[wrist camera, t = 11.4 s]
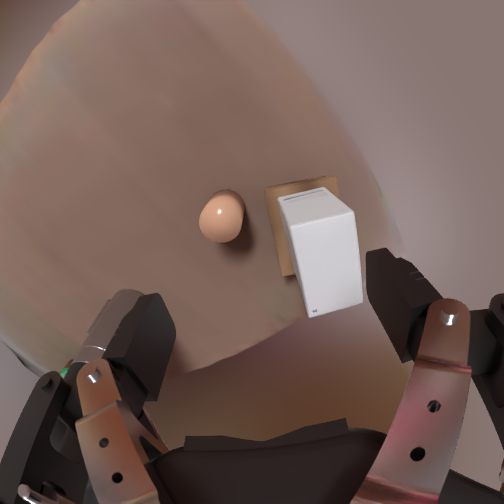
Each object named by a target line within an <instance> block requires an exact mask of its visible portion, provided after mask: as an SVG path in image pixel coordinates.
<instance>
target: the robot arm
mask: <svg viewBox="0 0 504 504" xmlns="http://www.w3.org/2000/svg"><path fill="white" fill-rule="evenodd" d="M366 289H367V295H368V299H369V301H370V303H371V305H372V307H373V309H374V311H375V312H376V314H377V316H378V318H379V320H380V321H381V323H382V325H383V327H384V329H385V331H386V333H387V334H388V336H389V338H390V340H391V342H392V344H393V346H394V348H395V350H396V352H397V354H398V356H399V358H400V360H401V362H402V363H404V362H407V361H410V360H413V361H414V366H413V369H412V372H411V375H410V378H409V381H408V385H407V387H406V390H405V393H404V395H403V398H402V401H401V404H400V406H399V409H398V411H397V414H396V416H395V419H394V421H393V423H392V426H391V428H390V430H389V432H388V435H387V434H385V433H382V432H378V431H375V430H371V429H365V428H348V426H347V422H346V418H343V419H339V420H335V421H330V422H326V423H321V424H316V425H311V426H306V427H303V428H300V429H298V430H295V431H292V432H290V433H287V434H284V435H282V436H279V437H276V438H273V439H270V440H267V441H261V442H260V441H252V440H245V439H239V438H232V437H227V436H186V437H185V443H184V447H180V448H177V449H173V450H171V451H170V450H169V449H168V448H167V446H166V445H165V443H164V442H163V440H162V438H161V436H160V435H159V433H158V431H157V429H156V428H155V426H154V424H153V422H152V420H151V418H150V416H149V415H148V412H147V411H146V410H145V408H144V407H143V405H144V402H145V401H157V399H158V395H159V392H160V388H161V385H162V381H163V378H164V374H165V371H166V368H167V364H168V361H169V358H170V354H171V351H172V348H173V344H174V341H175V338H176V329H175V325H174V322H173V320H172V318H171V316H170V314H169V312H168V310H167V308H166V305H165V303H164V301H163V299H162V297H161V295H160V294H158V293H154V294H148V295H143V294H141V293H139V292H137V291H133V290H122V291H120V292H118V293H116V294H115V295H114V297H113V298H112V300H108V301H107V303H106V304H105V306H104V307H103V309H102V310H101V312H100V313H99V315H98V316H97V318H96V319H95V321H94V322H93V324H92V325H91V327H90V329H89V330H88V332H87V338H86V340H85V341H84V343H83V345H82V346H81V348H80V350H79V352H78V353H77V355H76V357H75V358H74V360H73V362H72V364H71V365H70V367H69V369H68V371H67V373H66V374H65V376H64V378H62V376H61V375H60V374H59V373H58V372H56V371H51V372H48V373H46V374H45V375H43V376H42V377H41V378H40V379H39V380H38V382H37V383H36V385H35V388H34V389H33V391H32V393H31V395H30V397H29V399H28V401H27V403H26V405H25V407H24V409H23V411H22V413H21V415H20V417H19V419H18V422H17V424H16V426H15V428H14V431H13V433H12V435H11V438H10V440H9V442H8V445H7V447H6V450H5V452H4V455H3V458H2V460H1V463H0V504H504V459H503V462H502V466H501V472H500V473H499V480H500V482H502V484H501V489H500V491H497V490H495V489H492V488H490V487H488V486H485V485H483V484H481V483H478V482H476V481H474V480H472V479H470V478H468V477H465V476H463V475H462V474H459V473H457V472H455V471H453V470H451V469H450V465H451V462H452V459H453V456H454V453H455V450H456V446H457V443H458V439H459V435H460V431H461V427H462V423H463V419H464V414H465V409H466V404H467V398H468V393H469V386H470V380H471V377H472V379H473V381H474V383H475V385H476V387H477V389H478V391H479V393H480V395H481V397H482V399H483V401H484V404H485V405H486V408H487V410H488V412H489V415H490V417H491V419H492V422H493V424H494V426H495V429H496V431H497V434H498V436H499V438H500V441H501V444H502V447H503V449H504V293H502V294H497V295H495V296H494V297H493V298H492V299H491V302H490V305H489V309H483V310H473V311H469V309H468V308H467V306H466V305H465V304H463V303H462V302H460V301H458V300H455V299H450V298H443V297H442V296H441V295H440V294H439V293H438V292H437V290H436V289H435V288H434V287H433V286H432V285H431V284H430V282H429V281H428V280H427V279H426V278H424V276H423V275H422V274H421V273H420V272H419V271H418V269H417V268H416V267H415V266H414V265H413V264H412V263H411V262H409V261H407V260H405V259H403V258H401V257H400V258H395V257H394V256H393V254H392V253H391V252H390V251H389V250H388V249H387V248H381V249H377V250H372V251H368V252H367V253H366Z"/></svg>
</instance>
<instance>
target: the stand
mask: <svg viewBox="0 0 504 504" xmlns="http://www.w3.org/2000/svg"><path fill="white" fill-rule="evenodd" d="M321 187H325V188H326V189H328V190H329V191H330V192H331V193H332V194H333V195H335V196H336V197H337V198H338V199H339V191H338V184H337V177H335V176H331V177H326V176H322V177H317V178H311V179H306V180H301V181H295V182H290V183H285V184H280V185H275V186H271V187H268V189H264V193H265V197H266V202H267V206H268V211H269V215H270V220H271V225H272V229H273V234H274V239H275V243H276V248H277V253H278V257H279V262H280V267H281V272H282V277H283V276H288V275H293V274H295V272H294V268H293V264H292V260H291V255H290V251H289V247H288V243H287V239H286V235H285V231H284V226H283V222H282V218H281V214H280V210H279V205H278V201H277V199H278V198H279V197H282V196H287V195H291V194H296V193H300V192H305V191H309V190H313V189H317V188H321ZM339 200H340V199H339Z"/></svg>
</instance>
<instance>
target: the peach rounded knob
mask: <svg viewBox="0 0 504 504" xmlns="http://www.w3.org/2000/svg"><path fill="white" fill-rule="evenodd" d="M244 211H245V205H244V201H243V199H242V198H241V196H240V195H239V194H237V193H236V192H234V191H231V190H221V191H218V192H216V193H215V194H214V195H213V196H212V197H211V199H210V200H209V202H208V203H207V205H206V206H205V208H204V210H203V211H202V213H201V215H200V219H199V225H200V229H201V231H202V233H203V234H204V235H205V236H206V237H207V238H208V239H210V240H212V241H214V242H218V243H224V242H229V241H231V240H233V239H234V238H235V237H236V236H237V235H238V234H239V232H240V230H241V226H242V221H243V216H244Z"/></svg>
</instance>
